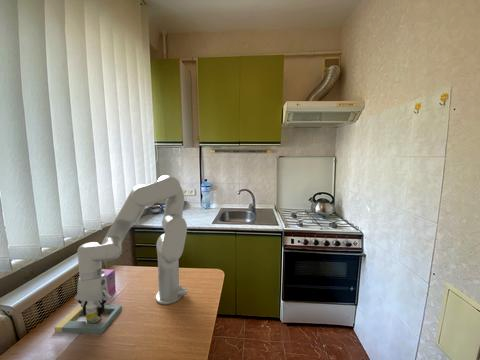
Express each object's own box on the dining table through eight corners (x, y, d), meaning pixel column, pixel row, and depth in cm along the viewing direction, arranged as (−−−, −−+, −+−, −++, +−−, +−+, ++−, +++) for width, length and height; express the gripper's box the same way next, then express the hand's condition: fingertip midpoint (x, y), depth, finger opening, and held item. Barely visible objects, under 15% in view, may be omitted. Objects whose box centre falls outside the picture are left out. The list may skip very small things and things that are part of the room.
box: (116, 291, 107) (114, 269, 105) (108, 298, 101) (106, 275, 100) (97, 289, 108) (95, 268, 106) (88, 297, 102) (86, 274, 101)
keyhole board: (121, 309, 94) (121, 305, 94) (101, 333, 81) (101, 328, 81) (81, 308, 95) (80, 303, 94) (54, 331, 82) (54, 327, 81)
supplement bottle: (92, 325, 84) (90, 303, 83) (83, 321, 86) (81, 300, 85) (105, 316, 89) (103, 295, 88) (96, 312, 91) (95, 292, 90)
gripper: (117, 268, 89) (119, 308, 91) (78, 267, 89) (81, 306, 91) (105, 278, 81) (108, 321, 83) (62, 277, 82) (66, 320, 84)
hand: (94, 313), depth 87 cm, fingers closed on supplement bottle, 5 cm apart
